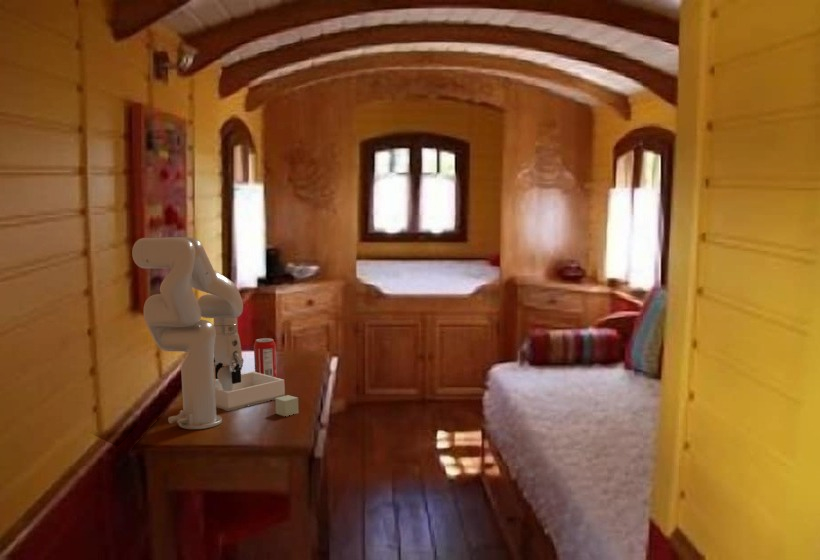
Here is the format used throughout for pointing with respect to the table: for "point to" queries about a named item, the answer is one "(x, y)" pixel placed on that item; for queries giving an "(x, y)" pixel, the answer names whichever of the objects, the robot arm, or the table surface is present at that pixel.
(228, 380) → the lightbulb
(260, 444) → the table surface
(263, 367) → the soda can
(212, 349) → the robot arm
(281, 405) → the sage cube
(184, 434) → the table surface
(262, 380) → the tote
